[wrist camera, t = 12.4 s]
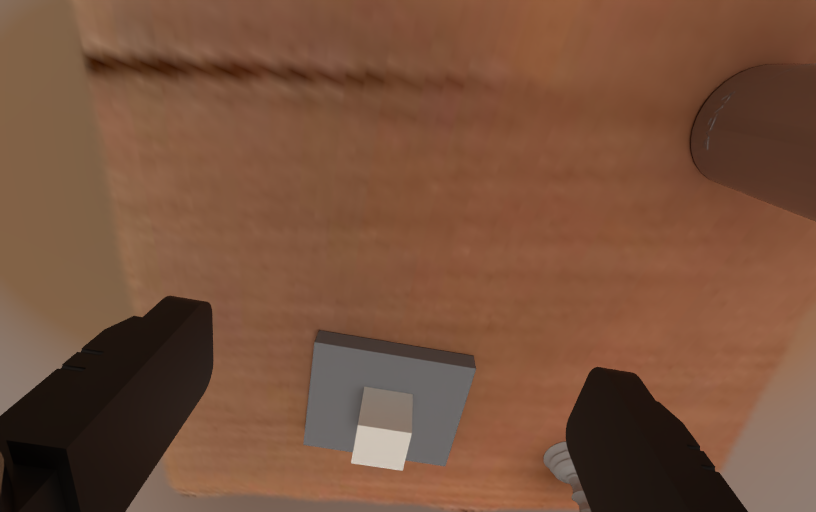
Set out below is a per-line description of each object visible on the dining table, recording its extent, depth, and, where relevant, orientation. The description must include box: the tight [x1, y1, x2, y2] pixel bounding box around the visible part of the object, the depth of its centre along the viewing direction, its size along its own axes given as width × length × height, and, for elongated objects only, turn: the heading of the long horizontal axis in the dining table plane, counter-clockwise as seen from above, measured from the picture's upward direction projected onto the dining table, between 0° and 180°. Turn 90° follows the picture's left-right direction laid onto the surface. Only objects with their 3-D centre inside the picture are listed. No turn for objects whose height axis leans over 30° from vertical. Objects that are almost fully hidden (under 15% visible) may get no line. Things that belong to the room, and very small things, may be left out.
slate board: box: [303, 330, 476, 466], centre depth 45 cm, size 16×14×2 cm
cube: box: [351, 387, 413, 471], centre depth 41 cm, size 5×5×5 cm
